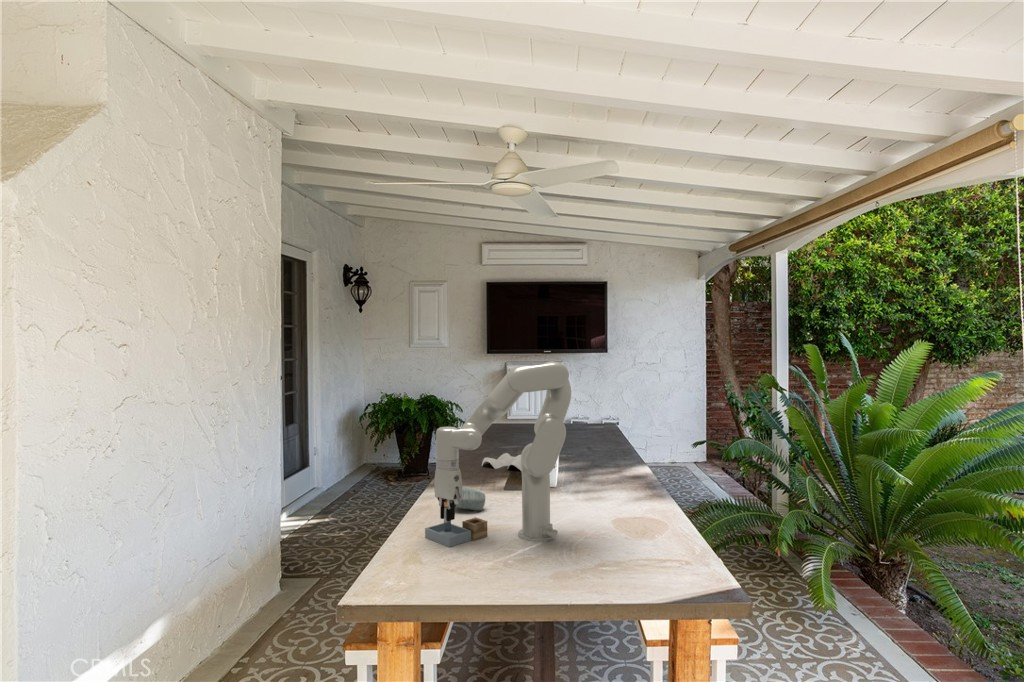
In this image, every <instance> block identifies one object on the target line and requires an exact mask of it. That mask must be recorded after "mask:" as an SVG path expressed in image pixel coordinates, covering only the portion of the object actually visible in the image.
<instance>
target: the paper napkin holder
mask: <svg viewBox="0 0 1024 682" xmlns="http://www.w3.org/2000/svg"><path fill="white" fill-rule="evenodd" d="M521 454H522V453H521ZM521 454H518V455H516V456H512V455H511V454H510V453H508V452H504V453H503V454H500V456H499V457H498V458H497V459H496V458H491V457H488V456H487V457H484V458H483V460H482V461H481V462H482V463H481V467H483V466H484V464H485V463H486V462H488V463H490V465H491V466H492V467H493V469H495V470H497V469H500V468H502V467H507V468H506V469H507V470H508V469H509V467H510V466H514V467H516V468H517V469H518V470H520V472H522V470H521Z"/></svg>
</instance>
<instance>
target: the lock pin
mask: <svg viewBox="0 0 1024 682" xmlns="http://www.w3.org/2000/svg"><path fill="white" fill-rule="evenodd" d="M446 509H448V508H447V500H445V501H444V519H443V523H444V532H451V524H452V520H450V521H446Z"/></svg>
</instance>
